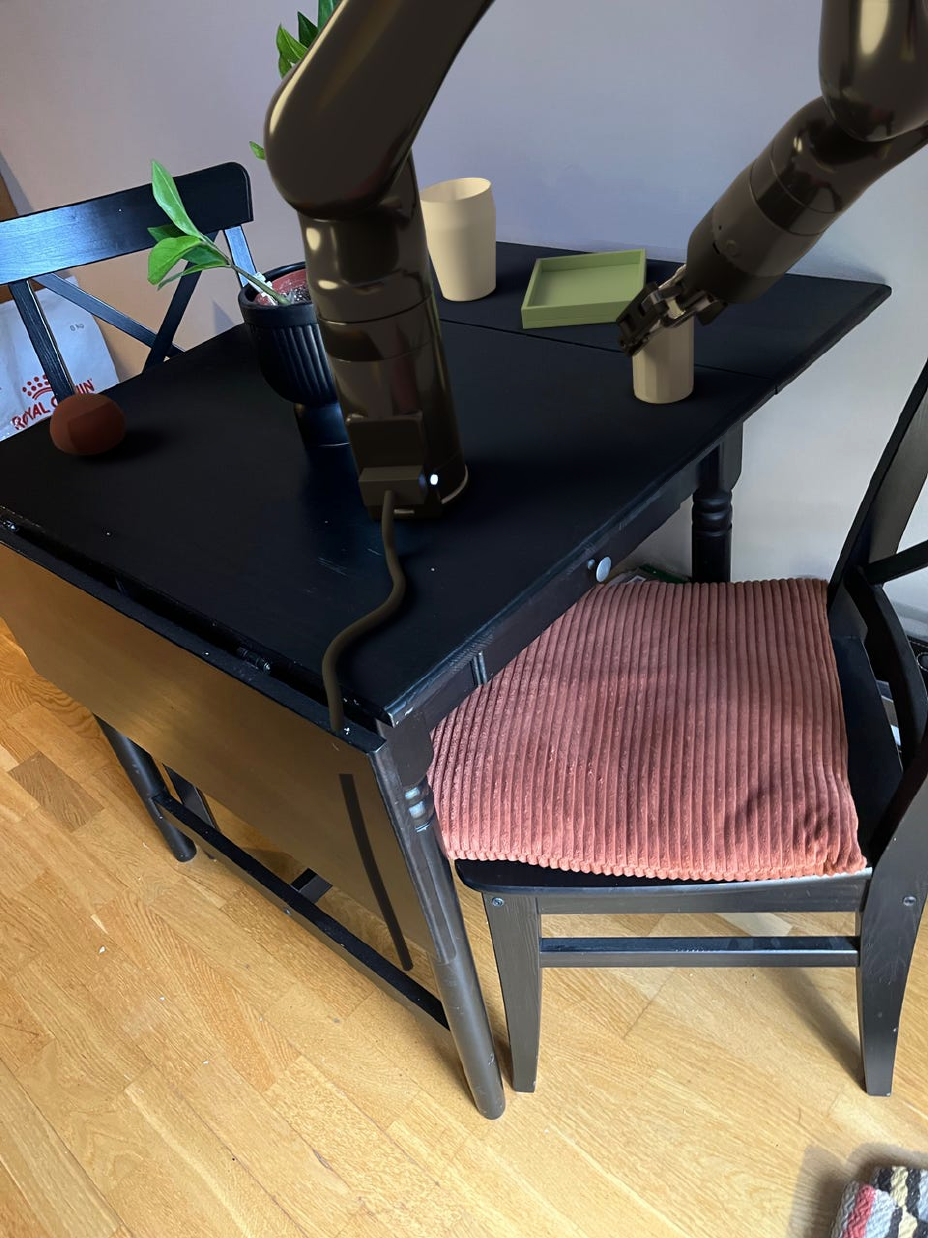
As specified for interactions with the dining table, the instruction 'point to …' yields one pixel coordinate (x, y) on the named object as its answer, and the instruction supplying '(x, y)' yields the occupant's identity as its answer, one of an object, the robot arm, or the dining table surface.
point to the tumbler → (666, 364)
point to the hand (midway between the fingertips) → (663, 331)
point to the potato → (87, 424)
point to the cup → (461, 236)
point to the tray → (583, 288)
